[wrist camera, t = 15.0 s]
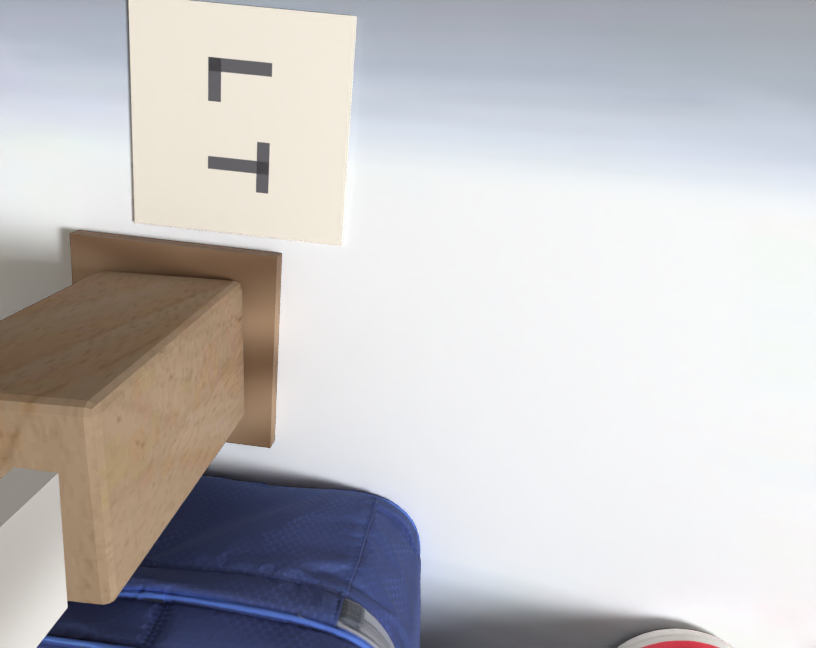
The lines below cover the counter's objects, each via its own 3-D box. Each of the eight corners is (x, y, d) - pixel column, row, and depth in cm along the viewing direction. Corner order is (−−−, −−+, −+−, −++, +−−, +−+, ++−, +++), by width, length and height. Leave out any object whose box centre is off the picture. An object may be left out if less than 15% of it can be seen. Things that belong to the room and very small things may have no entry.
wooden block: (109, 404, 52) (-100, 587, 33) (98, 268, 49) (-141, 386, 30) (246, 416, 52) (112, 610, 33) (244, 279, 48) (93, 406, 29)
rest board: (79, 230, 50) (69, 233, 48) (281, 253, 49) (277, 257, 48) (88, 416, 54) (80, 423, 53) (274, 440, 53) (270, 447, 52)
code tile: (129, -5, 44) (128, -6, 44) (356, 16, 44) (356, 16, 43) (135, 221, 49) (134, 222, 49) (342, 245, 48) (341, 246, 48)
